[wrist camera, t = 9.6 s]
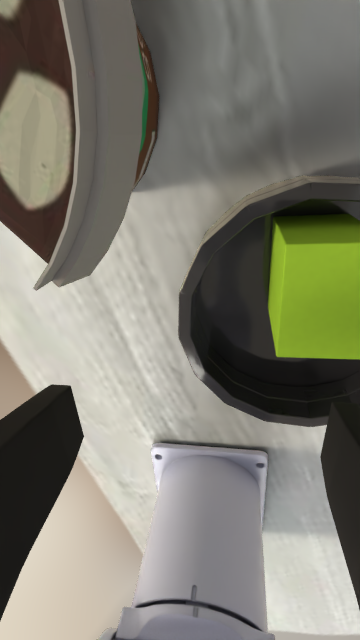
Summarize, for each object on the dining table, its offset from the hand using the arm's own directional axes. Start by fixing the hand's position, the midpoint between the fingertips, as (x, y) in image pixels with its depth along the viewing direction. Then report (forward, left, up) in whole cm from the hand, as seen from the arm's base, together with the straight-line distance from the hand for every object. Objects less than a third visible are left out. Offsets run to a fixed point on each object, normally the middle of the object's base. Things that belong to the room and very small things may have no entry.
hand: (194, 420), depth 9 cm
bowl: (0, -4, -9) cm, 10 cm away
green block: (+2, -4, -9) cm, 10 cm away
